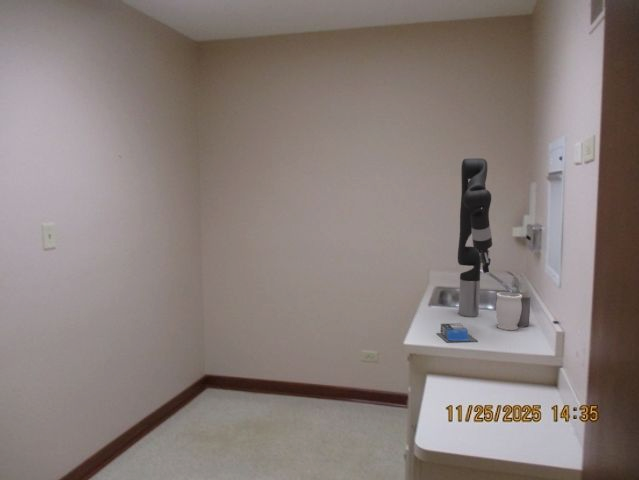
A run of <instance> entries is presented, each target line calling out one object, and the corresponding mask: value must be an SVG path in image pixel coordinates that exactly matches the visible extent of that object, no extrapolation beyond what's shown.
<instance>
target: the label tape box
mask: <svg viewBox="0 0 639 480" xmlns="http://www.w3.org/2000/svg"><path fill="white" fill-rule="evenodd" d="M439 333H442V334H443V335H444V336H445V337H446V338H447V339H448V340H451V341H471V340H469V337H468V334H469V332H468V328H466V327H465V326H464V325H463V324H462V323H461V322H457V323H440V332H439Z"/></svg>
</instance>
